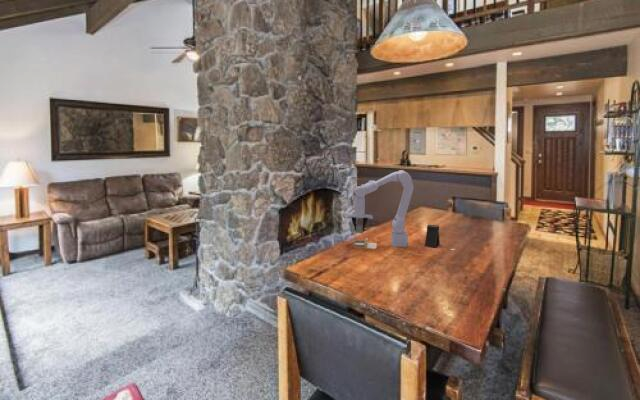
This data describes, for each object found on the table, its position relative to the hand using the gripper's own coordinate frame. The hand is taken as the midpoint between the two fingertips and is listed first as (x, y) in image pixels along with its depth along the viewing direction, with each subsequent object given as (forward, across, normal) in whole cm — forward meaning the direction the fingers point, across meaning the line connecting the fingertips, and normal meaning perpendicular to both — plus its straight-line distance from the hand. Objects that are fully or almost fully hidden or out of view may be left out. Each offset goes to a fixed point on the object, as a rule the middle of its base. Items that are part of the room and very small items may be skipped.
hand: (359, 230), depth 209 cm
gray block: (+1, 0, 0) cm, 1 cm away
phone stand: (+10, -42, -10) cm, 44 cm away
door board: (+10, -3, 0) cm, 10 cm away
